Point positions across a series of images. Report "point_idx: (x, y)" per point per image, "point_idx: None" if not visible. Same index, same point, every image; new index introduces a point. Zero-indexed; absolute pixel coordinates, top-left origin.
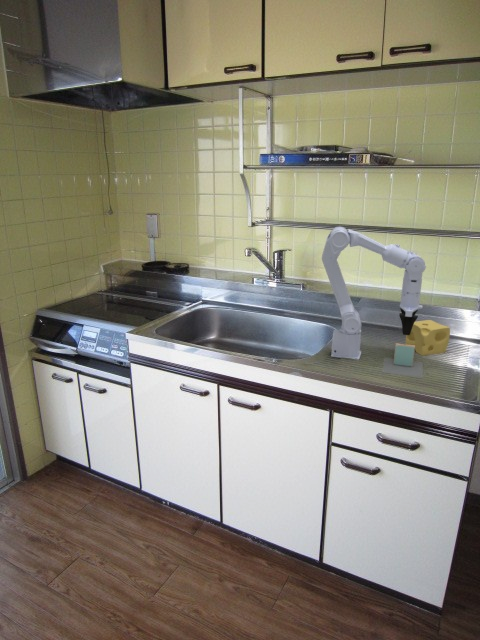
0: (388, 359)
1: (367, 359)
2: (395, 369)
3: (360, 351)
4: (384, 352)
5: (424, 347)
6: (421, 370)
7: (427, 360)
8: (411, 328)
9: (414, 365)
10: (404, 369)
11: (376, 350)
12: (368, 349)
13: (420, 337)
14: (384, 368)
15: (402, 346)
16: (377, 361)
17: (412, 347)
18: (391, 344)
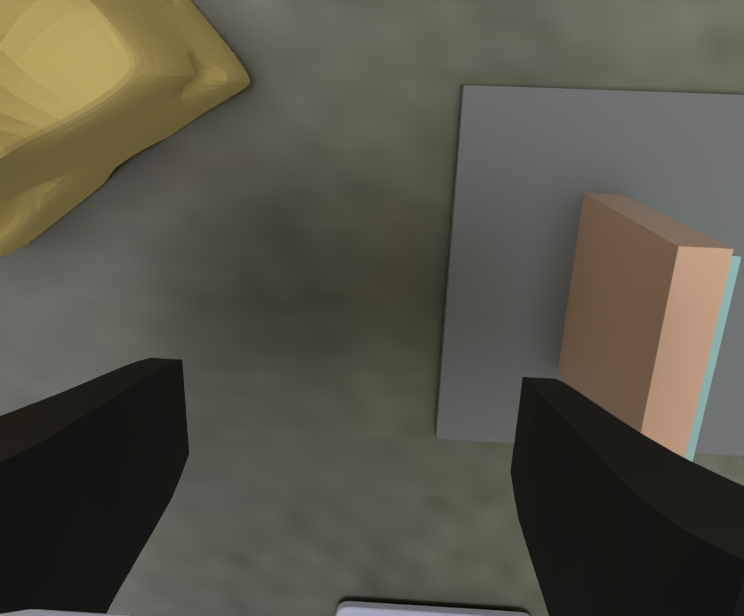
0: (475, 408)
1: (479, 552)
2: (719, 353)
3: (349, 614)
4: (259, 430)
5: (210, 58)
6: (709, 106)
7: (333, 19)
8: (640, 438)
9: (579, 174)
10: None
11: (235, 491)
12: (237, 549)
13: (101, 127)
14: (708, 440)
15: (700, 407)
16: (504, 482)
17: (730, 280)
18: (11, 371)
